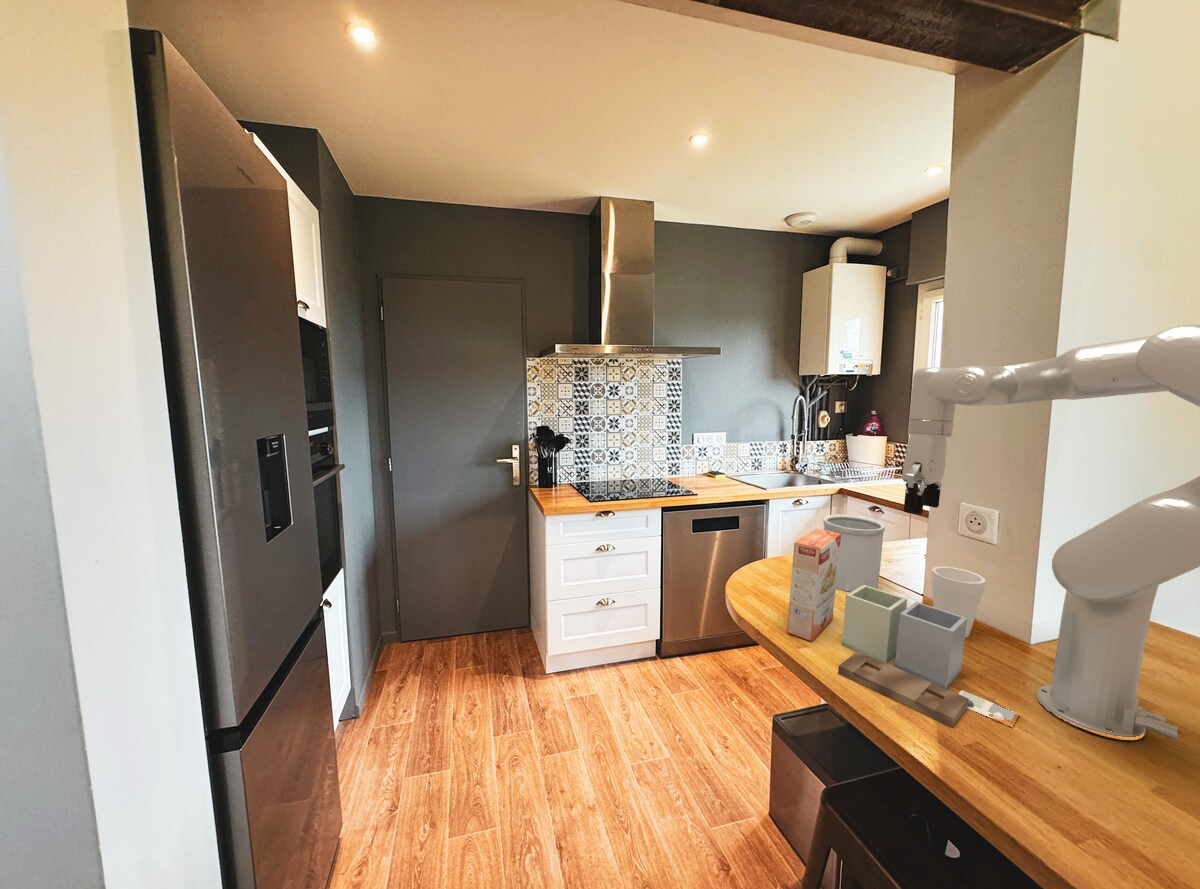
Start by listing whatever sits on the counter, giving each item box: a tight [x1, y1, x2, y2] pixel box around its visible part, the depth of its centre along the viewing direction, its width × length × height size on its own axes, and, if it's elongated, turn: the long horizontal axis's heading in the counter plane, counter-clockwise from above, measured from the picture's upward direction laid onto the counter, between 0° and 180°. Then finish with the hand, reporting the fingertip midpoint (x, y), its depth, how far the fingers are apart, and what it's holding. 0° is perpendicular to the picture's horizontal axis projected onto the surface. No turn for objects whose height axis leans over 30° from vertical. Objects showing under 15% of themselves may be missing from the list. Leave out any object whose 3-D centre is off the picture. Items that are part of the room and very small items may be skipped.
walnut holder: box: [837, 651, 969, 728], centre depth 85 cm, size 18×8×2 cm, turn 39°
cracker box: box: [786, 528, 841, 643], centre depth 106 cm, size 14×6×21 cm, turn 137°
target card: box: [958, 689, 1017, 721], centre depth 80 cm, size 8×5×1 cm, turn 39°
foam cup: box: [930, 566, 986, 639], centre depth 106 cm, size 10×9×13 cm
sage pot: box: [841, 585, 908, 664], centre depth 98 cm, size 8×8×11 cm
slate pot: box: [894, 601, 967, 689], centre depth 91 cm, size 8×8×11 cm
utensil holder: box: [822, 514, 886, 593], centre depth 130 cm, size 15×15×18 cm
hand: (921, 509), depth 100 cm, fingers open, 9 cm apart
